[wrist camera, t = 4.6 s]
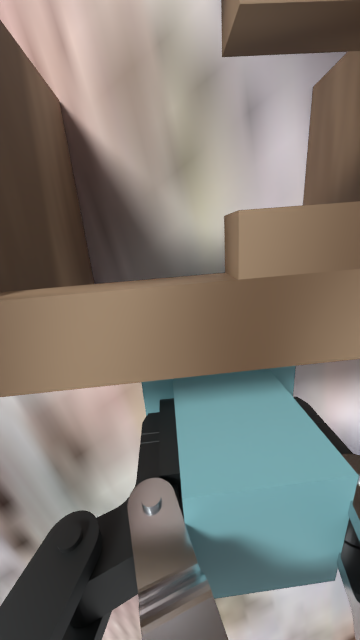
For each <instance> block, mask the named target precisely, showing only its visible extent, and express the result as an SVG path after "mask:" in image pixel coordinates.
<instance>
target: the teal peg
mask: <svg viewBox="0 0 360 640" xmlns="http://www.w3.org/2000/svg"><path fill="white" fill-rule="evenodd" d="M295 367H296V366H288V367H278V368H269V369H260V370H250V371H241V372H231V373H222V374H213V375H203V376H194V377H185V378H175V379H166V380H156V381H147V382H142V389H143V396H144V402H145V409H146V416H147V415H148V413H156V412H159V407H160V400H161V399H170V398H174V403H175V416H176V428H177V441H178V453H179V466H180V478H181V491H182V502H183V512H184V522H185V525H186V528H187V531H188V534H189V537H190V540H191V543H192V547H193V550H194V553H195V556H196V559H197V562H198V565H199V567H200V569H201V571H202V572H203V573H204V574H205V576H206V578H207V581H208V583H209V586H210V588H211V591H212V594H213V597H214V599H216V598H222V597H229V596H236V595H242V594H249V593H255V592H262V591H269V590H275V589H282V588H289V587H295V586H302V585H308V584H315V583H322V582H328V581H335V578H336V573H337V569H338V566H337V559H338V555H339V553H341V552H342V547H343V543H344V539H345V534H346V530H347V525H348V521H349V516H348V510H349V506H350V501H353V499H354V495H355V490H356V486H357V482H358V477H359V475H358V474H357V473H356V472H355V470H354V469H353V468H352V467H351V466H350V465H349V463H348V462H347V461H346V460H345V459H344V457H343V456H342V455H341V454H340V453H339V451H338V450H337V449H336V448H335V447H334V445H333V444H332V443H331V442H330V441H329V439H328V438H327V437H326V436H325V435H324V434H323V432H322V431H321V430H320V429H319V428H318V426H317V425H316V424H315V423H314V422H313V420H312V419H311V418H310V417H309V416H308V414H307V413H306V412H305V411H304V410H303V409H302V407H301V406H300V405H299V404H298V403H297V401H296V400H295V399H294V398H293V388H294V378H295Z"/></svg>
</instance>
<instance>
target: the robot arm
mask: <svg viewBox="0 0 360 640" xmlns="http://www.w3.org/2000/svg"><path fill="white" fill-rule="evenodd" d="M293 398H294V399H295V400H296V401H297V403H298V404H299V405H300V406H301V407H302V409H303V410H304V411H305V412H306V413H307V414H308V416H309V417H310V418H311V419H312V420H313V422H314V423H315V424H316V425H317V426H318V428H319V429H320V430H321V431H322V432H323V434H324V435H325V436H326V437H327V438H328V439H329V441H330V442H331V443H332V444H333V445H334V447H335V448H336V449H337V450H338V451H339V453H340V454H341V455H342V456H343V457H344V459H345V460H346V461H347V462H348V463H349V465H350V466H351V467H352V468H353V469H354V470H355V472H356V473H357V474H358V475H359V477H358V482H357V486H356V490H355V495H354V499H353V501H350V506H349V510H348V516H349V521H348V525H347V530H346V534H345V539H344V543H343V547H342V552H341V553H339V555H338V559H337V566H338V569H339V572H340V575H341V578H342V581H343V584H344V587H345V590H346V593H347V596H348V599H349V602H350V606H351V610H352V614H353V621H354V632H355V638H356V640H360V455H356V454H353V453H352V452H351V451H350V450H349V449H348V448H347V446H346V445H345V444H344V443H343V442H342V441H341V440H340V439H339V437H338V436H337V435H336V434H335V433H334V432H333V431H332V430H331V429H330V427H329V426H328V425H327V424H326V423H324V421H323V420H322V419H321V417H320V416H319V415H317V413H316V412H315V411H314V410H313V408H312V407H311V406H310V405H309V404H308V403H306V402H304V401H303V400H301V399H300V398H298V397H293ZM141 434H142V435H141V445H140V452H139V461H138V471H137V480H136V485H135V488H134V489H133V491H132V493H131V494H130V497H129V498H128V499H127V500H126V501H125V502H124V503H123V504H122V505H120V506H119V507H117V508H116V509H114V510H112V511H110V512H108V513H106V514H103V515H101V516H99V517H97V518H96V517H95V516H94V515H93V514H92V513H91V512H88V511H76V512H73V513H70V514H69V515H67V516H65V517H64V518H62V519H61V520H60V521H59V522H58V523H56V525H55V526H54V527H53V528H52V529H51V530H50V532H49V533H48V535H47V536H46V538H45V539H44V541H43V542H42V544H41V545H40V547H39V548H38V550H37V551H36V553H35V555H34V556H33V558H32V559H31V561H30V562H29V564H28V565H27V567H26V568H25V570H24V571H23V573H22V574H21V576H20V577H19V579H18V580H17V582H16V583H15V585H14V586H13V588H12V590H11V591H10V593H9V594H8V596H7V597H6V599H5V600H4V602H3V603H2V605H1V606H0V640H102V637H103V634H104V632H105V629H106V626H107V623H108V620H109V617H110V615H111V612H112V610H113V609H115V608H116V607H118V606H120V605H121V604H123V603H124V602H126V601H127V600H129V599H131V598H132V597H134V596H135V595H137V594H138V596H139V616H140V626H141V634H142V640H228V638H227V635H226V632H225V629H224V626H223V623H222V620H221V617H220V614H219V611H218V608H217V605H216V603H215V600H214V597H213V594H212V591H211V588H210V586H209V583H208V581H207V578H206V576H205V574H204V573H203V572H202V571H201V569H200V567H199V565H198V562H197V559H196V556H195V553H194V550H193V547H192V543H191V540H190V537H189V534H188V531H187V528H186V525H185V522H184V512H183V502H182V491H181V478H180V466H179V453H178V441H177V428H176V416H175V403H174V398H170V399H161V400H160V407H159V412H156V413H148V415H147V416H146V418H145V420H144V421H143V423H142V433H141Z"/></svg>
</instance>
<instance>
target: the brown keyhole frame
mask: <svg viewBox="0 0 360 640" xmlns="http://www.w3.org/2000/svg"><path fill="white" fill-rule="evenodd" d="M221 7H222V57H235V56H257V55H280V54H302V53H325V52H347V51H348V52H347V53H346V54H345V55H344V56H343V57H342V58H341V59H340V60H339V61H338V62H337V63H336V64H335V65H334V66H333V67H332V68H331V69H330V70H329V71H328V72H327V73H326V74H325V75H324V76H323V77H322V79H321V80H320V81H319V82H318V83H317V84H316V85H315V86H314V87H313V93H312V105H311V117H310V129H309V140H308V152H307V164H306V176H305V188H304V200H303V206H291V207H278V208H264V209H251V210H239V211H236V212H233V213H231V214H228V215H226V216H224V228H225V273H217V274H205V275H194V276H182V277H171V278H159V279H148V280H136V281H125V282H113V283H102V284H94V279H93V274H92V269H91V263H90V258H89V253H88V248H87V243H86V238H85V232H84V227H83V222H82V217H81V212H80V206H79V201H78V196H77V191H76V186H75V181H74V175H73V170H72V165H71V160H70V155H69V149H68V144H67V139H66V134H65V129H64V124H63V118H62V113H61V108H60V103H59V99H58V98H57V97H56V95H55V94H54V93H53V91H52V90H51V89H50V87H49V86H48V84H47V83H46V82H45V80H44V79H43V78H42V76H41V75H40V74H39V72H38V71H37V69H36V68H35V67H34V65H33V64H32V63H31V61H30V60H29V58H28V57H27V56H26V54H25V53H24V52H23V50H22V49H21V48H20V46H19V45H18V43H17V42H16V41H15V39H14V38H13V37H12V35H11V34H10V32H9V31H8V30H7V28H6V27H5V26H4V24H3V23H2V22H1V20H0V397H6V396H16V395H25V394H35V393H44V392H53V391H63V390H72V389H81V388H91V387H100V386H110V385H119V384H128V383H138V382H147V381H156V380H166V379H175V378H185V377H194V376H203V375H213V374H222V373H231V372H241V371H250V370H260V369H269V368H278V367H288V366H297V365H306V364H316V363H325V362H335V361H344V360H353V359H360V0H221Z"/></svg>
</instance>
